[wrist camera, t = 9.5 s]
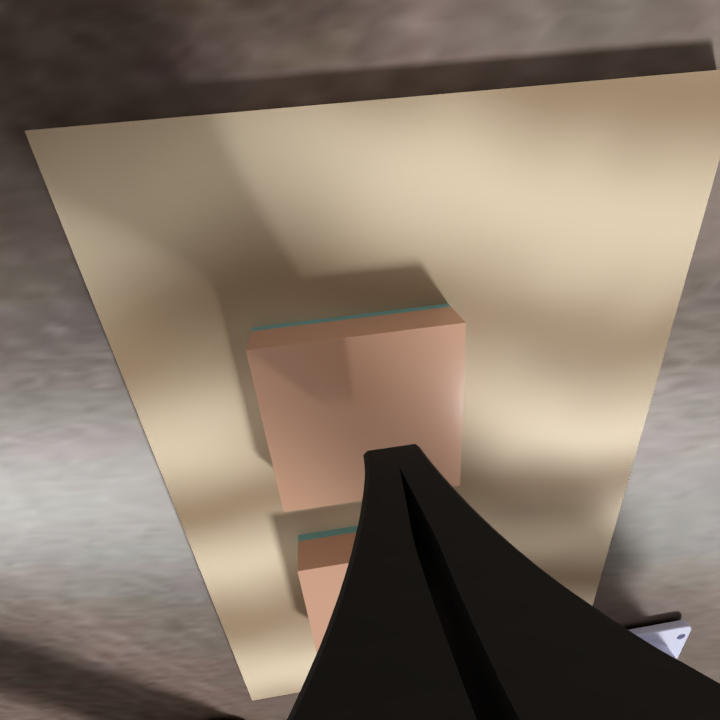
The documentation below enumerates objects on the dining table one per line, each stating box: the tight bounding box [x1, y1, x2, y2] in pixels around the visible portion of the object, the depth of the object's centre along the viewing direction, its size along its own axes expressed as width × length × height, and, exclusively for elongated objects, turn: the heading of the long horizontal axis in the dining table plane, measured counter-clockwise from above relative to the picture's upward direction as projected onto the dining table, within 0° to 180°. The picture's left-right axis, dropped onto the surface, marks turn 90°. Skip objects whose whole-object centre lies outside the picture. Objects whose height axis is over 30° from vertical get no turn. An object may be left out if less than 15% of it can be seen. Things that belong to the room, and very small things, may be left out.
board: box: [25, 70, 720, 701], centre depth 17 cm, size 26×18×1 cm
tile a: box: [298, 526, 358, 652], centre depth 17 cm, size 6×2×6 cm
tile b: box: [246, 303, 466, 512], centre depth 13 cm, size 6×2×6 cm
